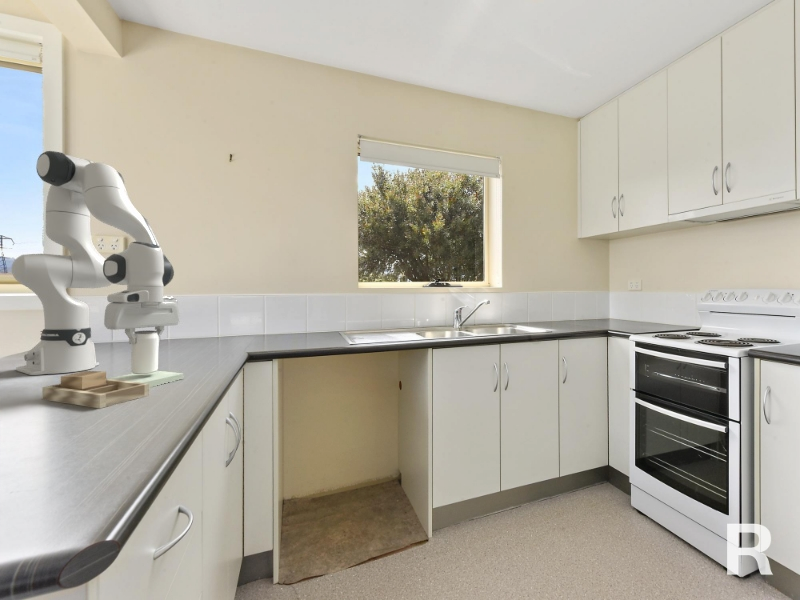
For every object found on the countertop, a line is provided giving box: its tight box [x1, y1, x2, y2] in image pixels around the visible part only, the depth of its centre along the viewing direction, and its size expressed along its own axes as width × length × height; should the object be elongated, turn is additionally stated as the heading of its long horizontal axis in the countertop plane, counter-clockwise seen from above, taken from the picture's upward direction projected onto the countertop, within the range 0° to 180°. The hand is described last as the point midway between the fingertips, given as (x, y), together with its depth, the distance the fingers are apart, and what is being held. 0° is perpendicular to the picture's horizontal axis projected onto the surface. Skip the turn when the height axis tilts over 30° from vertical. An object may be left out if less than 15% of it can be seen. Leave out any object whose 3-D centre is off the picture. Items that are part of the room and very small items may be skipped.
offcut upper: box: [60, 370, 107, 389], centre depth 89 cm, size 6×7×3 cm
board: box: [106, 370, 185, 388], centre depth 103 cm, size 14×14×2 cm
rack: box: [41, 378, 150, 409], centre depth 88 cm, size 20×11×3 cm, turn 73°
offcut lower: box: [74, 383, 108, 391], centre depth 89 cm, size 6×7×3 cm
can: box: [130, 330, 160, 374], centre depth 103 cm, size 6×6×12 cm
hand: (145, 342), depth 103 cm, fingers closed on can, 5 cm apart
